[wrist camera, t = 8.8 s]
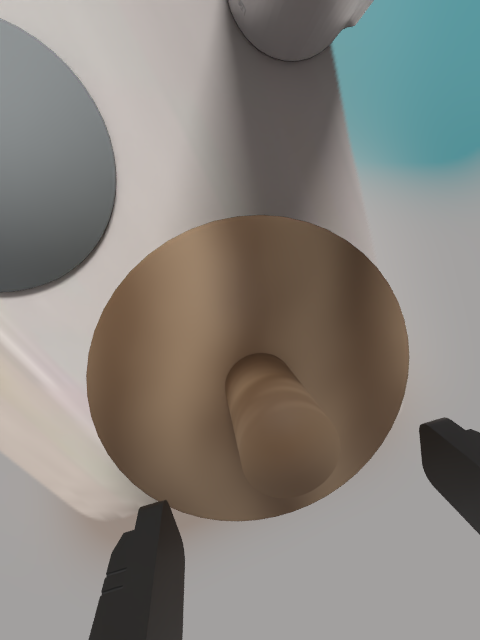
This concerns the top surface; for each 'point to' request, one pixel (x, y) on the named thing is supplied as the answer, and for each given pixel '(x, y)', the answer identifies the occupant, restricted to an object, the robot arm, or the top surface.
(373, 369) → the walnut lid
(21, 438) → the top surface
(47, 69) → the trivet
